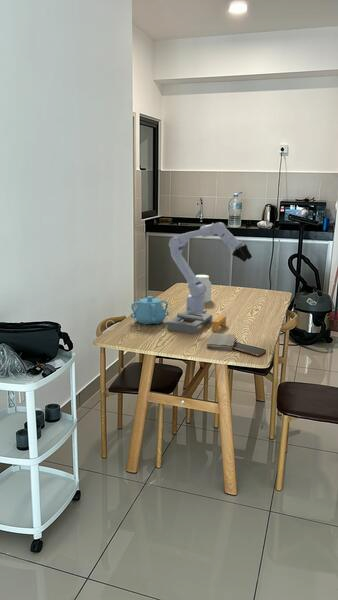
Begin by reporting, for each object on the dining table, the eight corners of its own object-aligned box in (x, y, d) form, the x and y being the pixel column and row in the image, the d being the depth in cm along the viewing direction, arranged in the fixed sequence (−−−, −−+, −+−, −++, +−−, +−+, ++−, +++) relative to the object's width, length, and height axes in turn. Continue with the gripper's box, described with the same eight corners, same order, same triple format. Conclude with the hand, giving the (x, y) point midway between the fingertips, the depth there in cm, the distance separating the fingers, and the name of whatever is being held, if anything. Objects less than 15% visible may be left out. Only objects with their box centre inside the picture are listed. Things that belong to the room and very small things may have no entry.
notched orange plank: (217, 331, 232) (217, 322, 231) (211, 330, 233) (212, 321, 232) (225, 325, 242) (226, 316, 241) (220, 324, 244) (220, 315, 242)
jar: (190, 301, 288) (190, 276, 285) (194, 297, 297) (195, 273, 293) (208, 302, 285) (209, 278, 281) (212, 299, 294) (213, 275, 290)
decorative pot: (134, 329, 234) (134, 302, 231) (127, 317, 252) (127, 293, 249) (173, 326, 239) (174, 300, 236) (163, 315, 257) (163, 291, 254)
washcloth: (206, 350, 208) (206, 343, 208) (210, 337, 225) (210, 330, 225) (233, 352, 206) (233, 345, 205) (235, 338, 223) (235, 332, 223)
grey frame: (167, 329, 234) (167, 318, 233) (185, 318, 253) (185, 308, 252) (195, 334, 228) (195, 323, 226) (211, 322, 247) (212, 311, 245)
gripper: (230, 236, 240) (249, 255, 238) (240, 233, 252) (257, 251, 250) (221, 246, 243) (239, 265, 241) (231, 242, 256) (248, 261, 254)
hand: (248, 259), depth 246 cm, fingers open, 7 cm apart
